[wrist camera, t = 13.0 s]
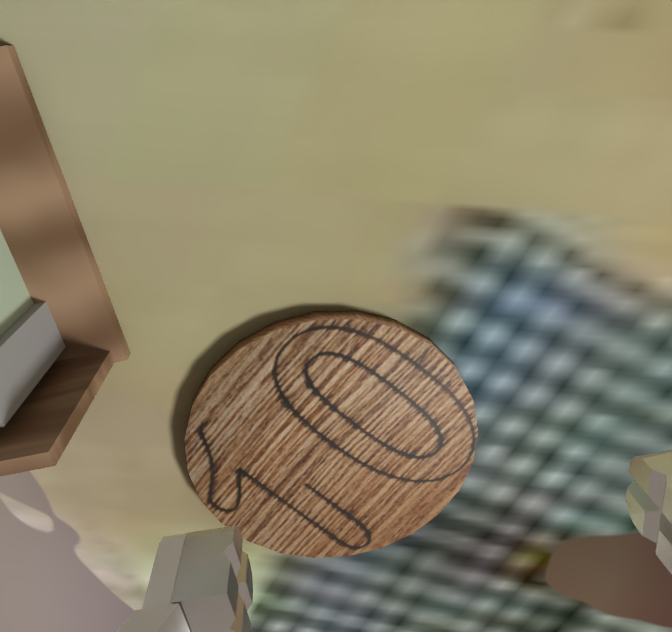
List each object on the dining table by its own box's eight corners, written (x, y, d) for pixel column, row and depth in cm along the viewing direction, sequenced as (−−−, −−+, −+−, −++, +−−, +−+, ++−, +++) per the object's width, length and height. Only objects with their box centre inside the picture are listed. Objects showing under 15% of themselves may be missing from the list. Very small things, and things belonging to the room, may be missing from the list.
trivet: (350, 577, 56) (353, 593, 54) (131, 465, 48) (126, 480, 46) (528, 410, 49) (537, 422, 48) (307, 247, 41) (308, 254, 39)
